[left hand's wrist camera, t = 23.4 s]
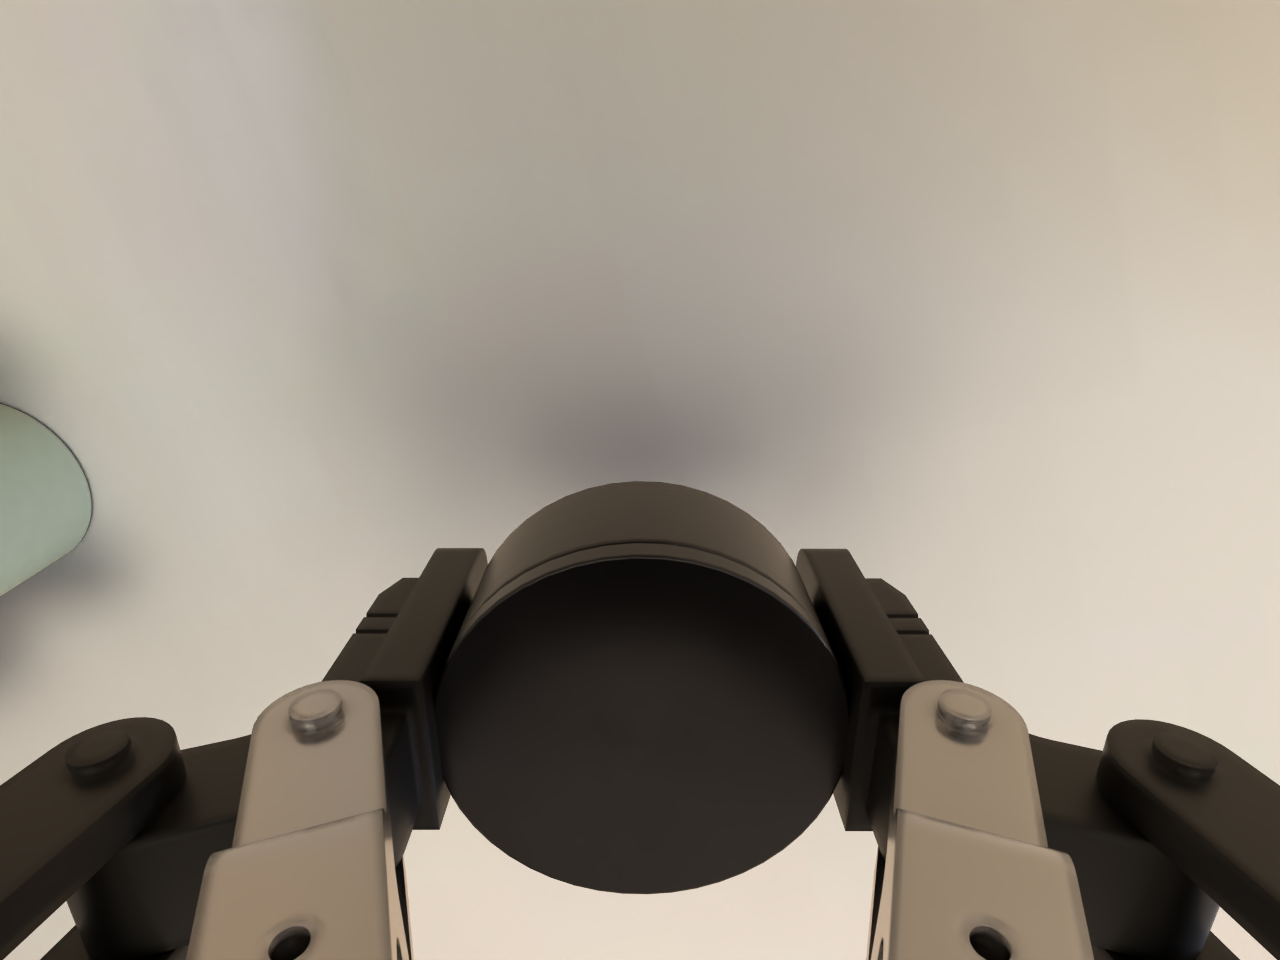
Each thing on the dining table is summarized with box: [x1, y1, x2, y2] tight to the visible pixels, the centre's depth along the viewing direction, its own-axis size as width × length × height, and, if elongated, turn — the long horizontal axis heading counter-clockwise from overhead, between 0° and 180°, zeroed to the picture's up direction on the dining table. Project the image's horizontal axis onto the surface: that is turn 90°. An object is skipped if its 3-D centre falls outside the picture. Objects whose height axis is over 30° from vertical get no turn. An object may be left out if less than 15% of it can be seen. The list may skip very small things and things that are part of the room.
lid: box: [434, 481, 850, 894], centre depth 10 cm, size 5×5×2 cm
